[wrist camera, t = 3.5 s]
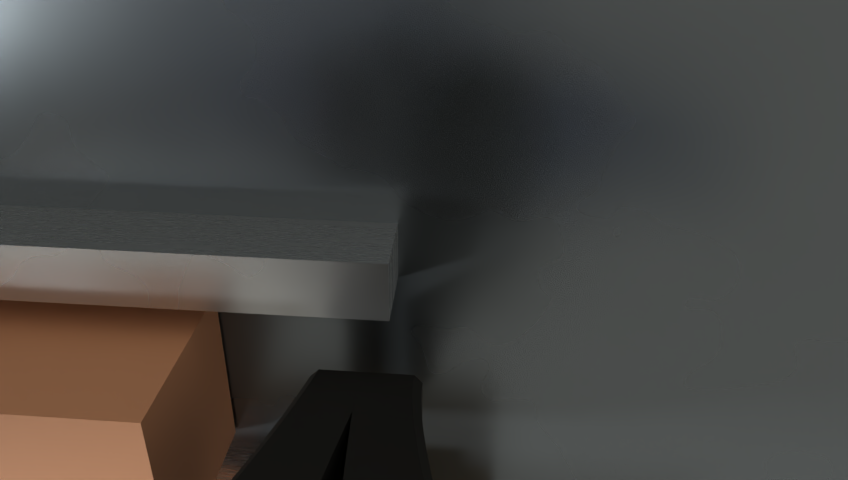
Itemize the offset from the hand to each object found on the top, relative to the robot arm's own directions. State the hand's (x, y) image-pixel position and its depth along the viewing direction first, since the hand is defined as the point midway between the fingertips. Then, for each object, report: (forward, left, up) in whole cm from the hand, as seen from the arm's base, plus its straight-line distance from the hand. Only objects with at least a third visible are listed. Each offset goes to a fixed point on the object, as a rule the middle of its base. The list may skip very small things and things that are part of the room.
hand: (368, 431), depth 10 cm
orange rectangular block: (-4, 0, -1) cm, 4 cm away
